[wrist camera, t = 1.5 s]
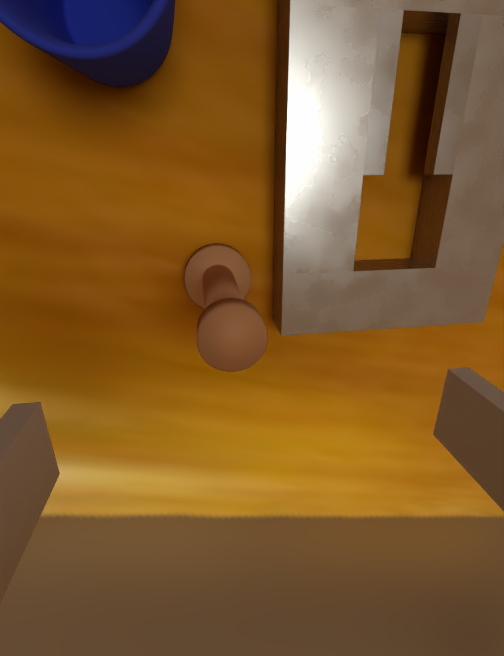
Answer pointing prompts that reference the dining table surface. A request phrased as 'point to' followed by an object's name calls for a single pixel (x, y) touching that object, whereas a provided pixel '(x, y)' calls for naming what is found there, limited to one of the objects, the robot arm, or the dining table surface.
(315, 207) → the keyhole plate
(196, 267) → the headed peg
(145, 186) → the dining table surface
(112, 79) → the mug
